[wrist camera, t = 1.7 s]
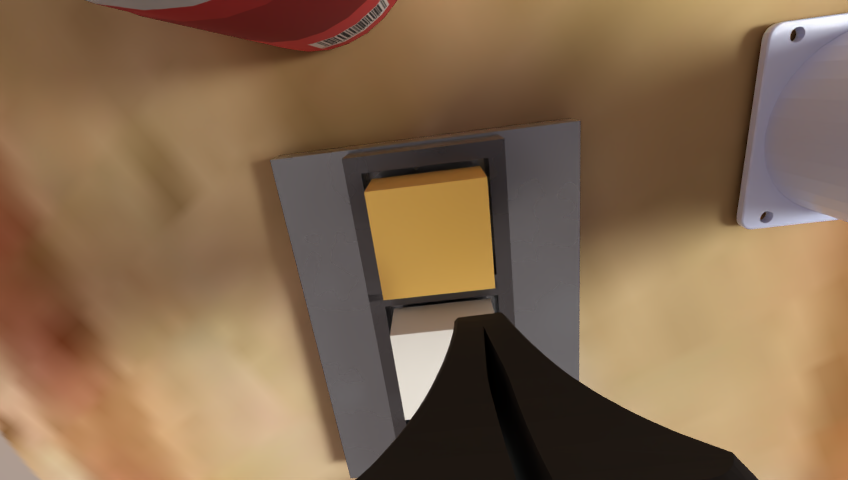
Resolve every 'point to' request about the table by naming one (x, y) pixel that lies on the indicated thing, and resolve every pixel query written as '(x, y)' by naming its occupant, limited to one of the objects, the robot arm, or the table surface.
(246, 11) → the canned food
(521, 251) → the button panel
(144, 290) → the table surface
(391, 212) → the amber button
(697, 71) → the table surface
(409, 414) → the cream button
